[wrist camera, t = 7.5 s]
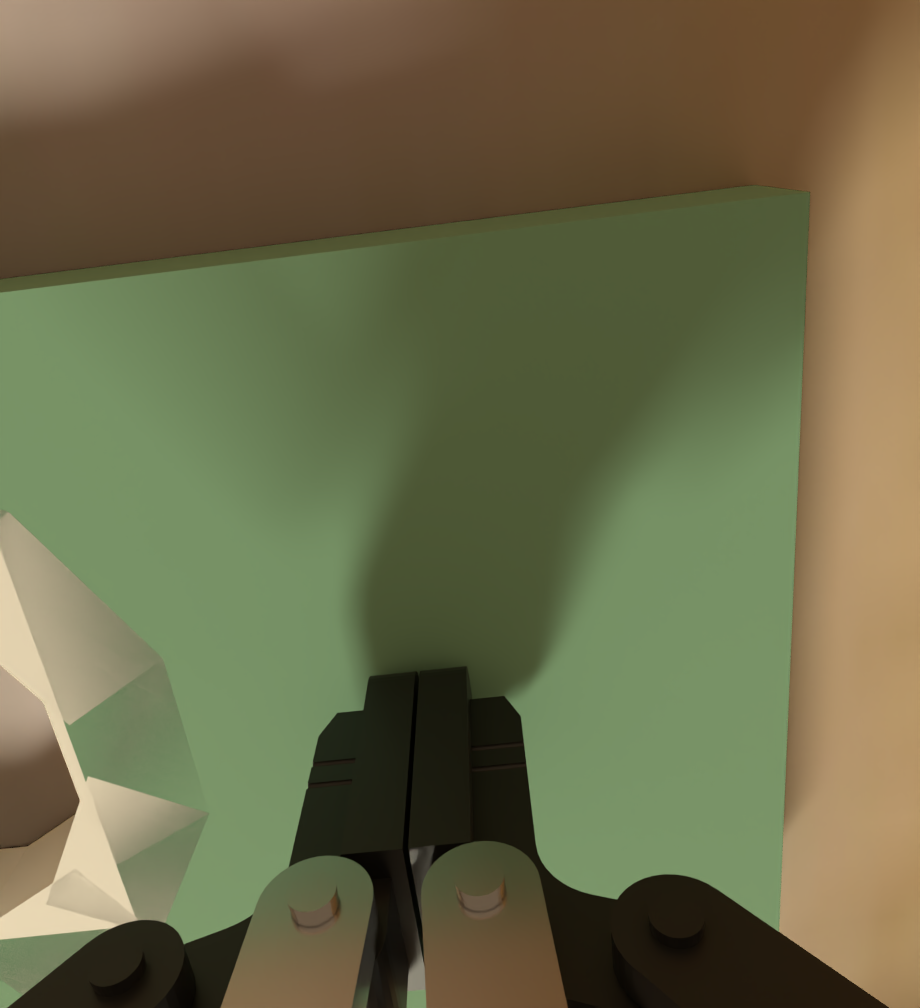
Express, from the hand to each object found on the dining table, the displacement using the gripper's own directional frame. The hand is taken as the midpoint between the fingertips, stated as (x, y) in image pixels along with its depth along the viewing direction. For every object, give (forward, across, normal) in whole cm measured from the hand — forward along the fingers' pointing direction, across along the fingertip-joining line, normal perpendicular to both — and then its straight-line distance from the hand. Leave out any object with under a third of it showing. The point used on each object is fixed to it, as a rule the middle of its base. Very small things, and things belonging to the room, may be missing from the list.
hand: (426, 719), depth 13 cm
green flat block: (+2, +4, 0) cm, 5 cm away
